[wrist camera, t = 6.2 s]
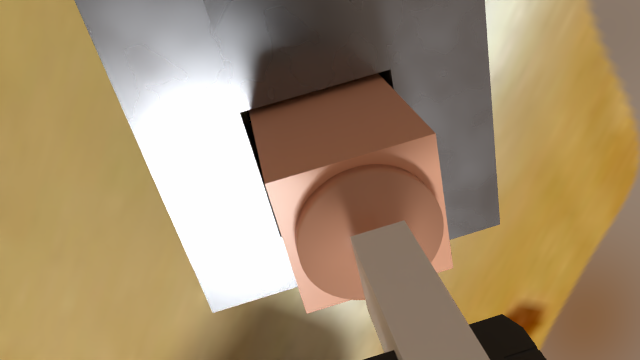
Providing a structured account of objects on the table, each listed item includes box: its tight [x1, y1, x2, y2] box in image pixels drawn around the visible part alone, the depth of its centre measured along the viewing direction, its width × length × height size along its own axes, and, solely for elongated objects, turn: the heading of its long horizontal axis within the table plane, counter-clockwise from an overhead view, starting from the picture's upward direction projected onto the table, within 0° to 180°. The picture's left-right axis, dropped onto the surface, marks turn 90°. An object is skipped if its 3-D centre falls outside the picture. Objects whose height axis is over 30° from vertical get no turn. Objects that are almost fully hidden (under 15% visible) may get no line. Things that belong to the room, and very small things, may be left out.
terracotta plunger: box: [249, 73, 453, 313], centre depth 19 cm, size 5×5×7 cm
